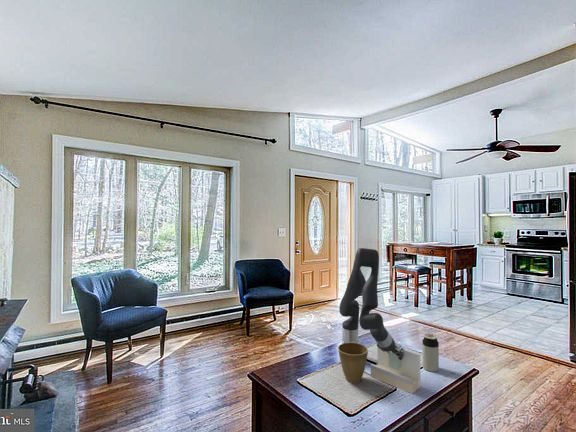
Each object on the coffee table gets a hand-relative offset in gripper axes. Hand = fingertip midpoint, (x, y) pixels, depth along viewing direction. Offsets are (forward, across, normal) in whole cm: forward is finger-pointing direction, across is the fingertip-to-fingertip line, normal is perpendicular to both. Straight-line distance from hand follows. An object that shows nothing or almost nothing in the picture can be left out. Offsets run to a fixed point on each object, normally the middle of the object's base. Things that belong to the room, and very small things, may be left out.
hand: (396, 356), depth 158 cm
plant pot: (-2, +16, +19) cm, 25 cm away
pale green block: (+2, 0, +4) cm, 5 cm away
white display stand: (+7, 0, +9) cm, 12 cm away
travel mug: (+25, -8, -8) cm, 28 cm away
